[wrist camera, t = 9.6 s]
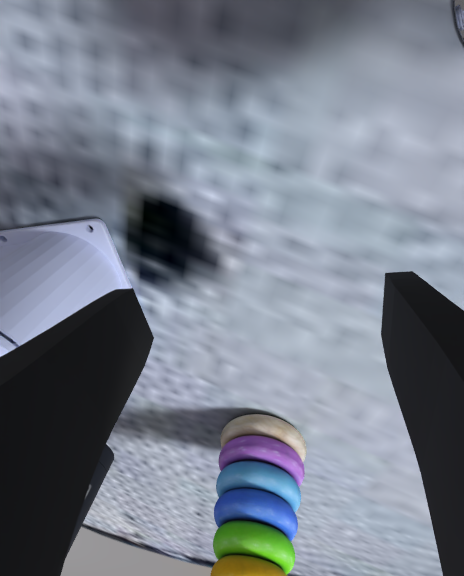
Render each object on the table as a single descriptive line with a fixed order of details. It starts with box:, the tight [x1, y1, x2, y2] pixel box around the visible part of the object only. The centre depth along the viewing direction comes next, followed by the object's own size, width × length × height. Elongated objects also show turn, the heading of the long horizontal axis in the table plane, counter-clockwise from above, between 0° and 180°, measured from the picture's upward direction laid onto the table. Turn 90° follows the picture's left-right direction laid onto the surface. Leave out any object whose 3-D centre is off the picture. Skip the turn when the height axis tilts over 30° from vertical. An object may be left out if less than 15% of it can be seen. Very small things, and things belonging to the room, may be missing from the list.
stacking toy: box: [211, 414, 306, 576], centre depth 24 cm, size 8×8×19 cm
